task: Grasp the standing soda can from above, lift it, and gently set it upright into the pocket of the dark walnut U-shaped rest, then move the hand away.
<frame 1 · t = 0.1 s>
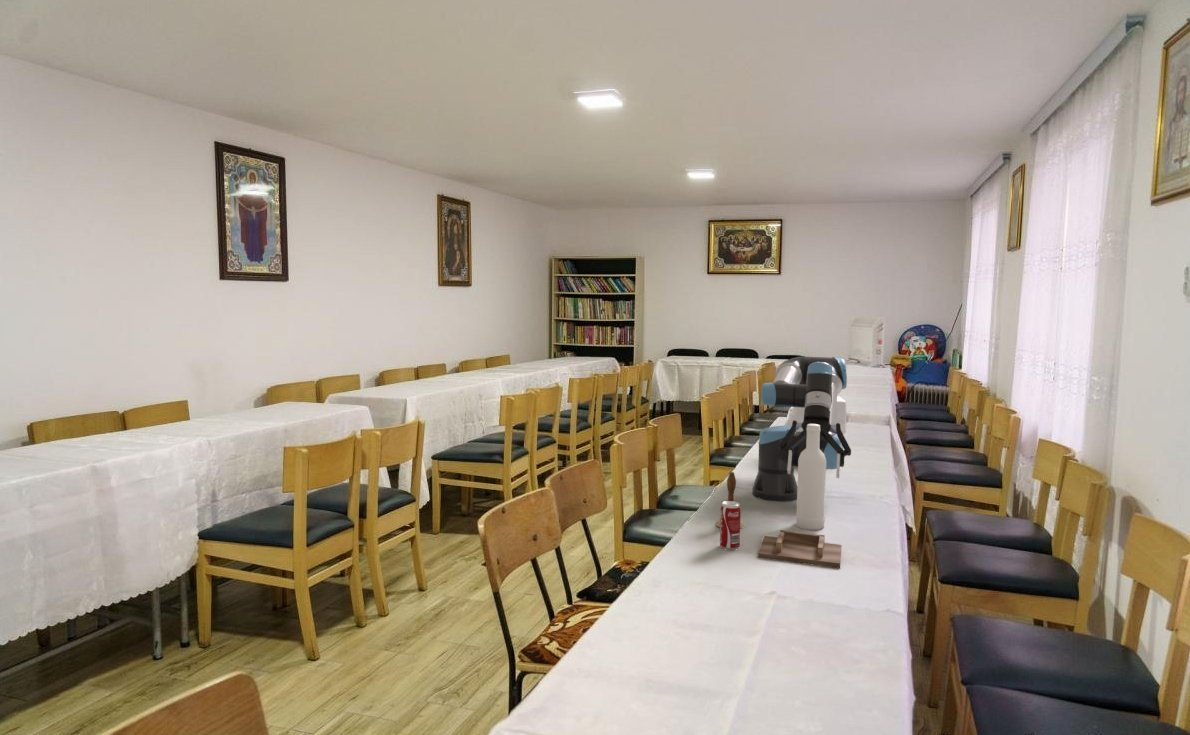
hand: (813, 474, 203), 15 cm above the table, tool tilted 35°, fingers open, 13 cm apart
soda can: (729, 547, 187), on the table
can rest: (800, 553, 183), on the table
bottle: (809, 526, 205), on the table
hand bell: (729, 526, 205), on the table
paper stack: (810, 459, 291), on the table
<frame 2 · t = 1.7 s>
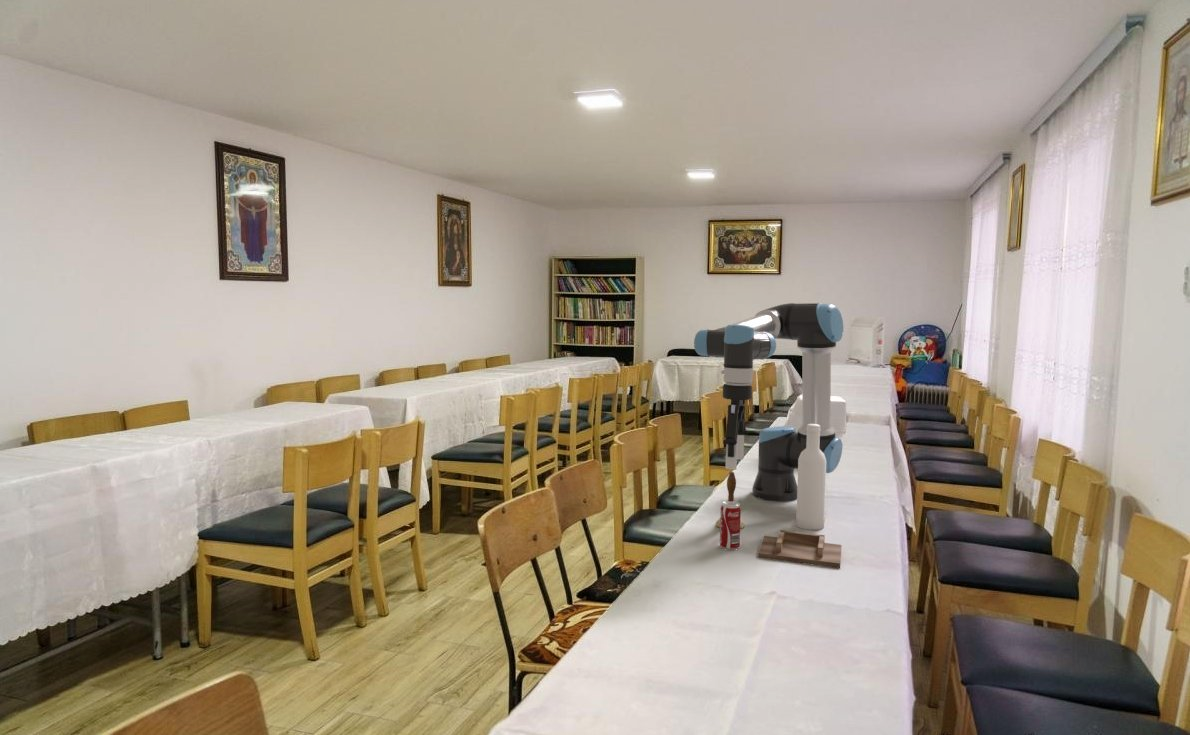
hand: (734, 463, 185), 23 cm above the table, tool pointing down, fingers open, 13 cm apart
nothing on the table moved.
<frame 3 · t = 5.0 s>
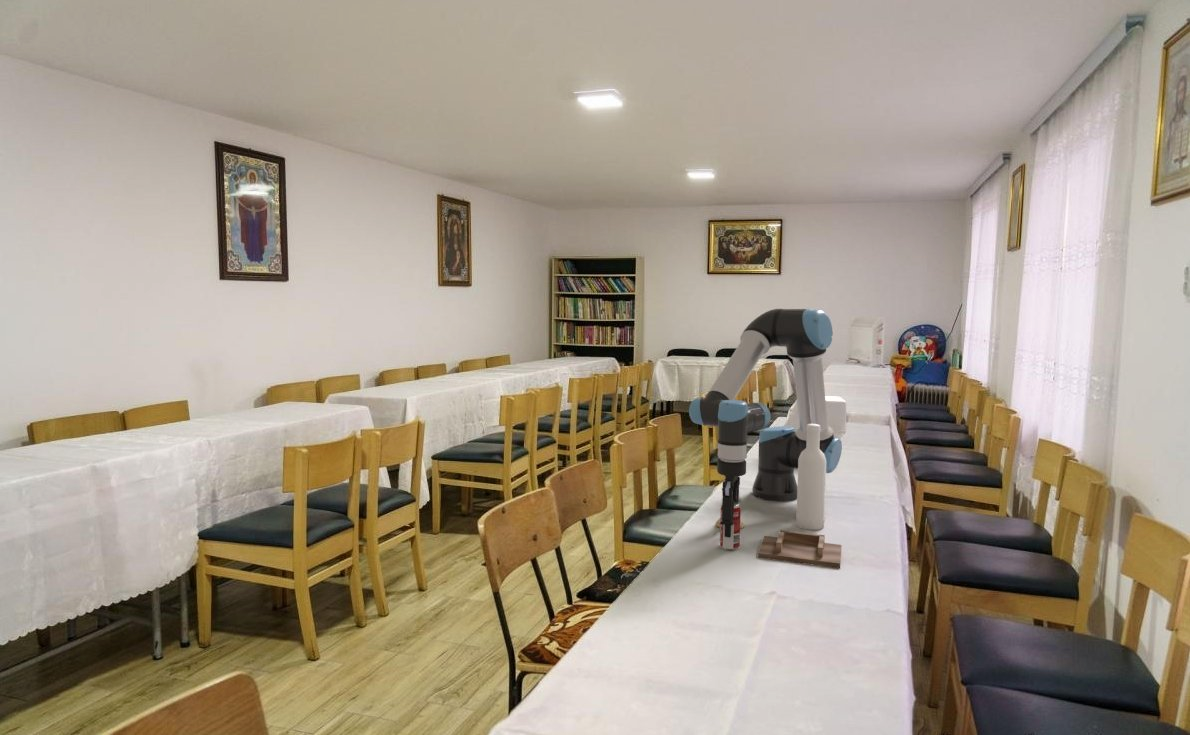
hand: (729, 544, 187), 1 cm above the table, tool pointing down, fingers closed on soda can, 5 cm apart
soda can: (729, 547, 187), on the table, touching gripper
everything else where it was.
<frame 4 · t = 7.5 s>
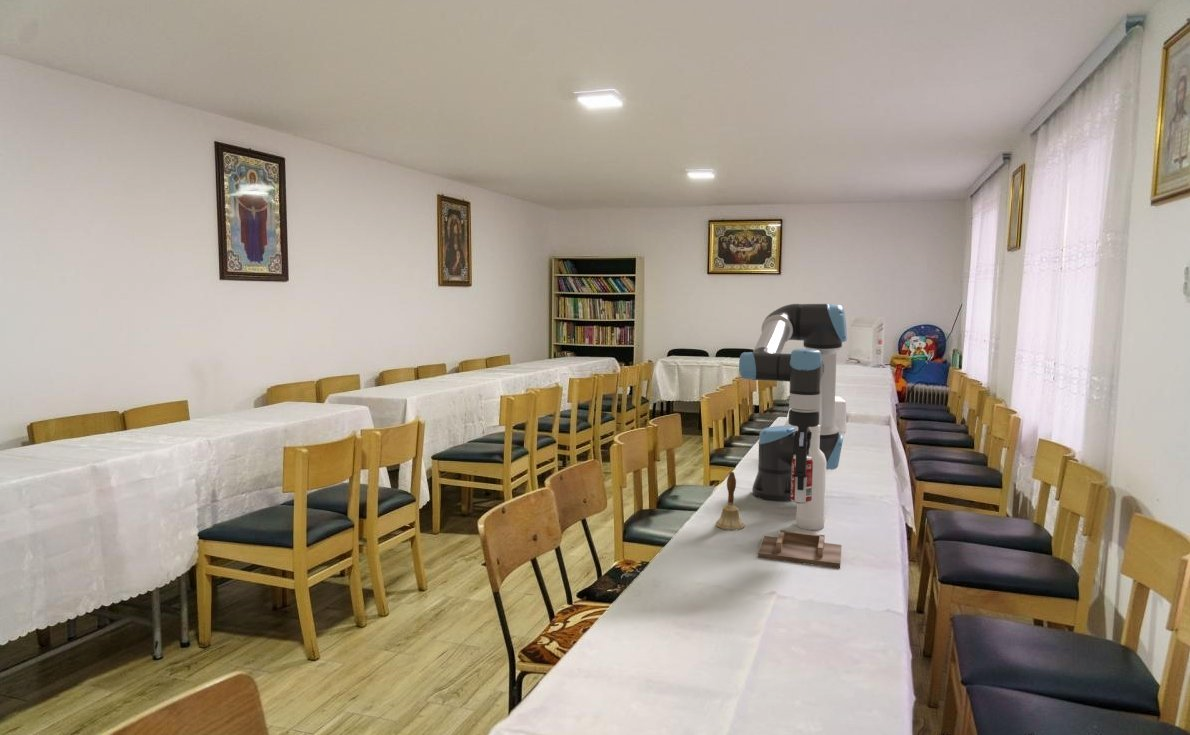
hand: (801, 498, 182), 15 cm above the table, tool pointing down, fingers closed on soda can, 5 cm apart
soda can: (800, 502, 182), point 14 cm above the table, touching gripper
everything else where it was.
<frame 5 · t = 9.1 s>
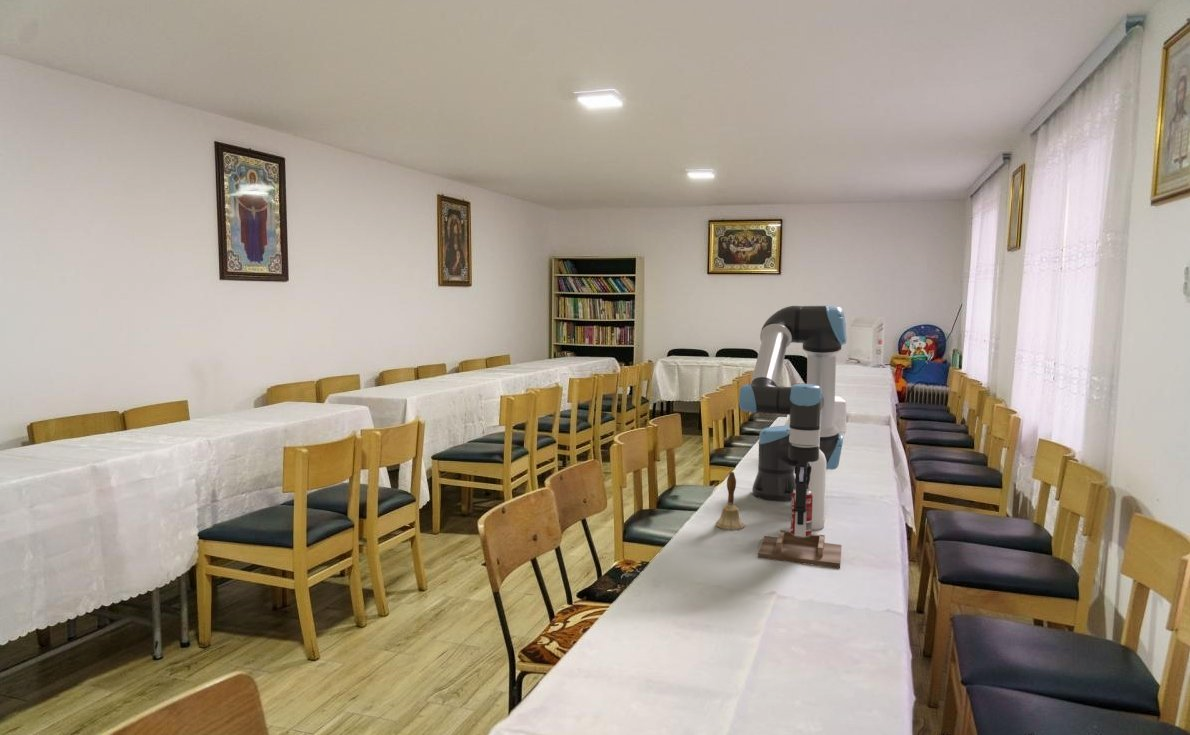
hand: (800, 532, 182), 6 cm above the table, tool pointing down, fingers closed on soda can, 5 cm apart
soda can: (800, 535, 182), point 5 cm above the table, touching gripper
everything else where it was.
when the fingers open (4 cm above the table, at t = 10.1 s): soda can drops 2 cm, resting on can rest.
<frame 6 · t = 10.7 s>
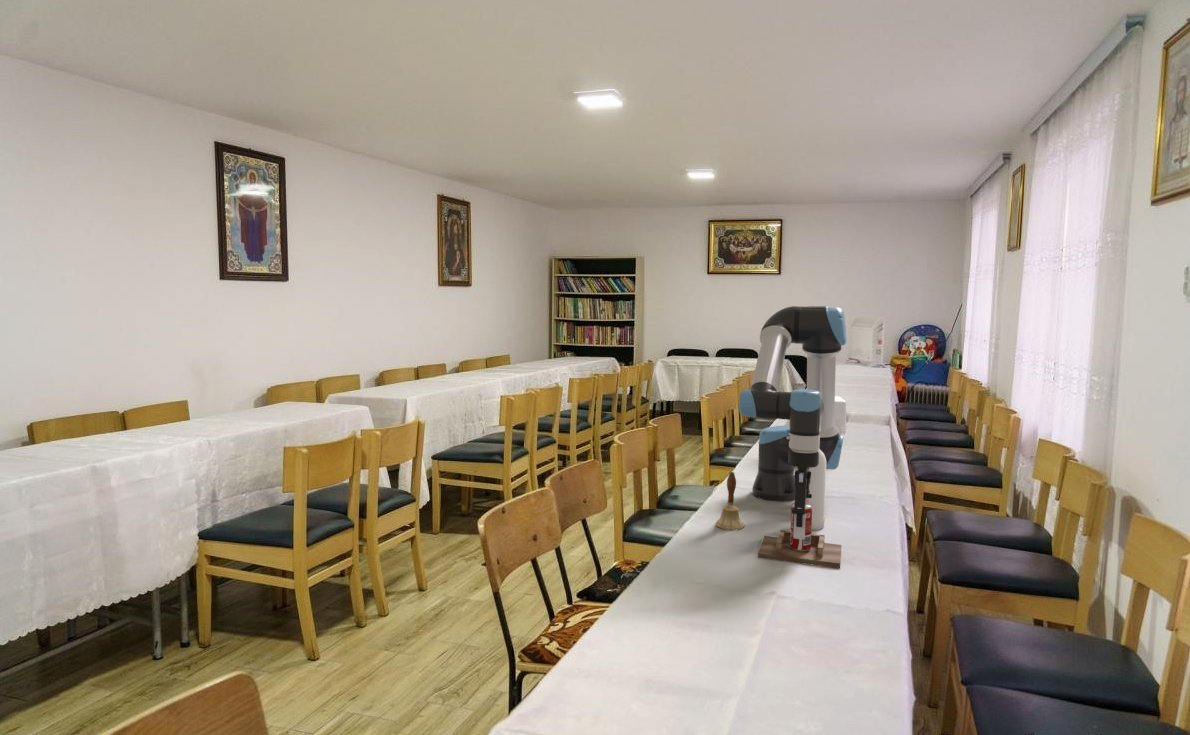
hand: (801, 530, 182), 6 cm above the table, tool pointing down, fingers open, 13 cm apart
soda can: (800, 549, 183), point 1 cm above the table, touching can rest
everything else where it was.
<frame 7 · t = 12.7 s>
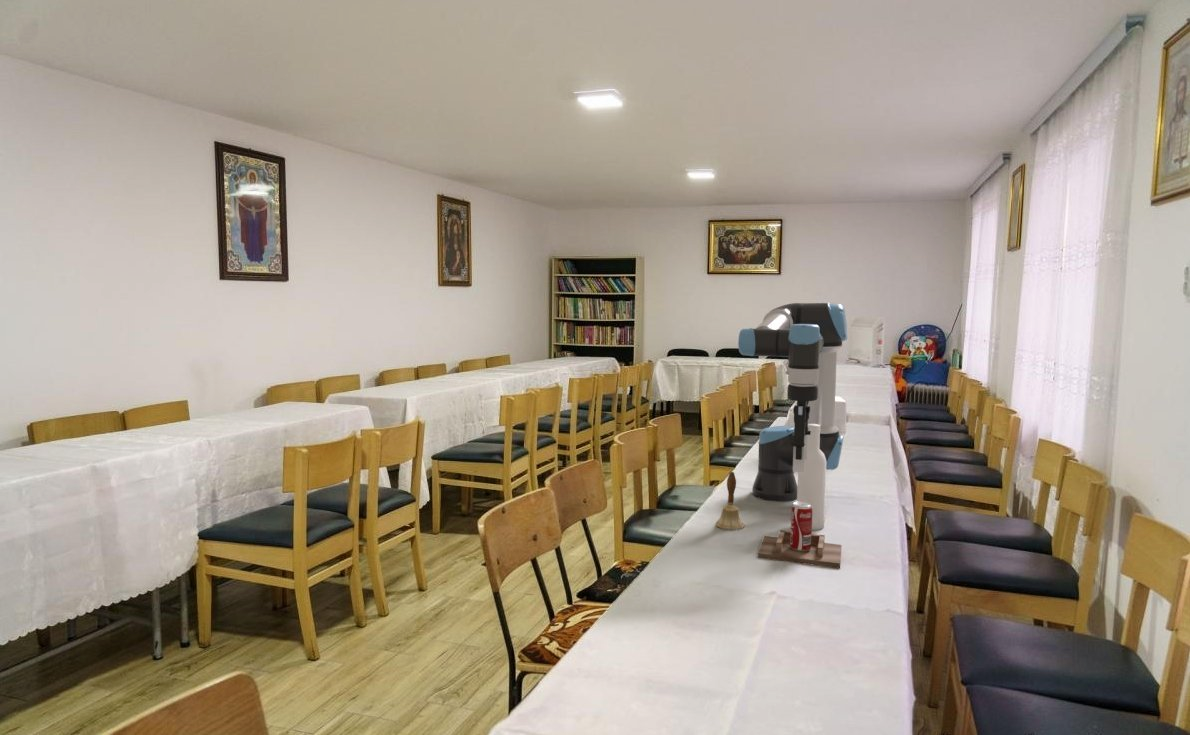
hand: (800, 465, 182), 23 cm above the table, tool pointing down, fingers open, 13 cm apart
nothing on the table moved.
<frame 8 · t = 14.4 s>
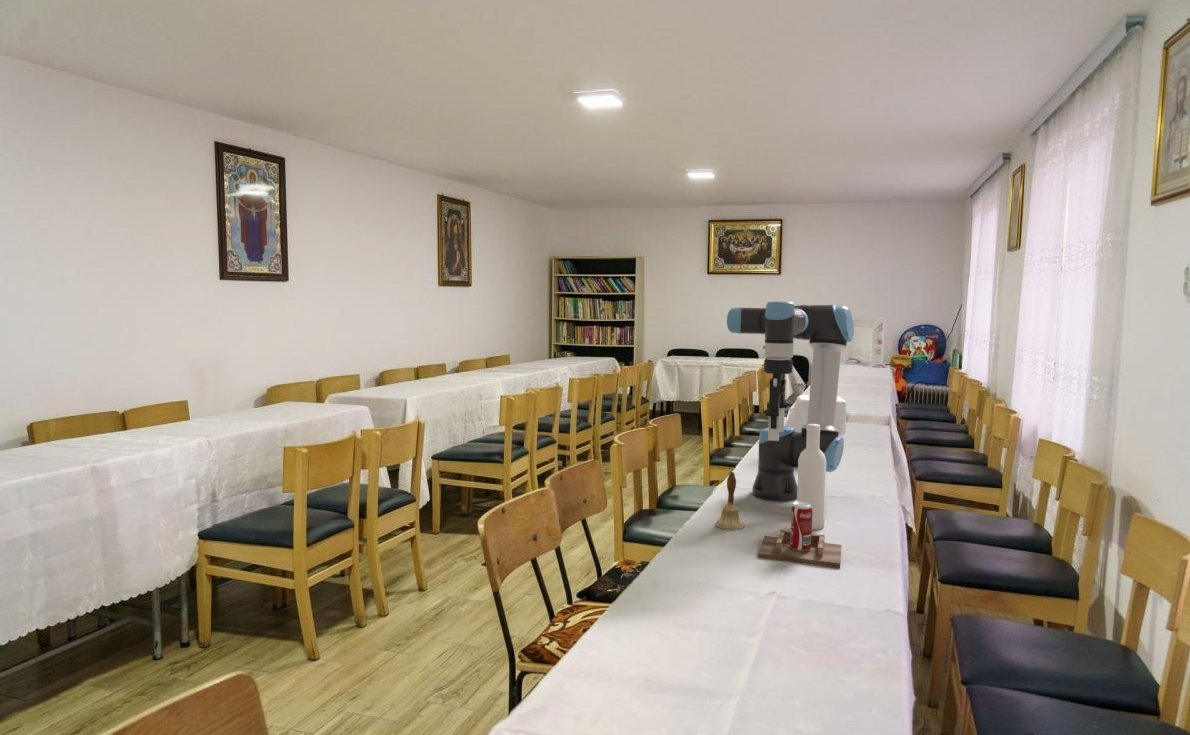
hand: (776, 435, 192), 29 cm above the table, tool pointing down, fingers open, 13 cm apart
nothing on the table moved.
at the end: soda can 0.0 cm off-centre on the can rest, point 1.0 cm above the can rest's base; soda can tilted 0°; the gripper is holding nothing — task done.
